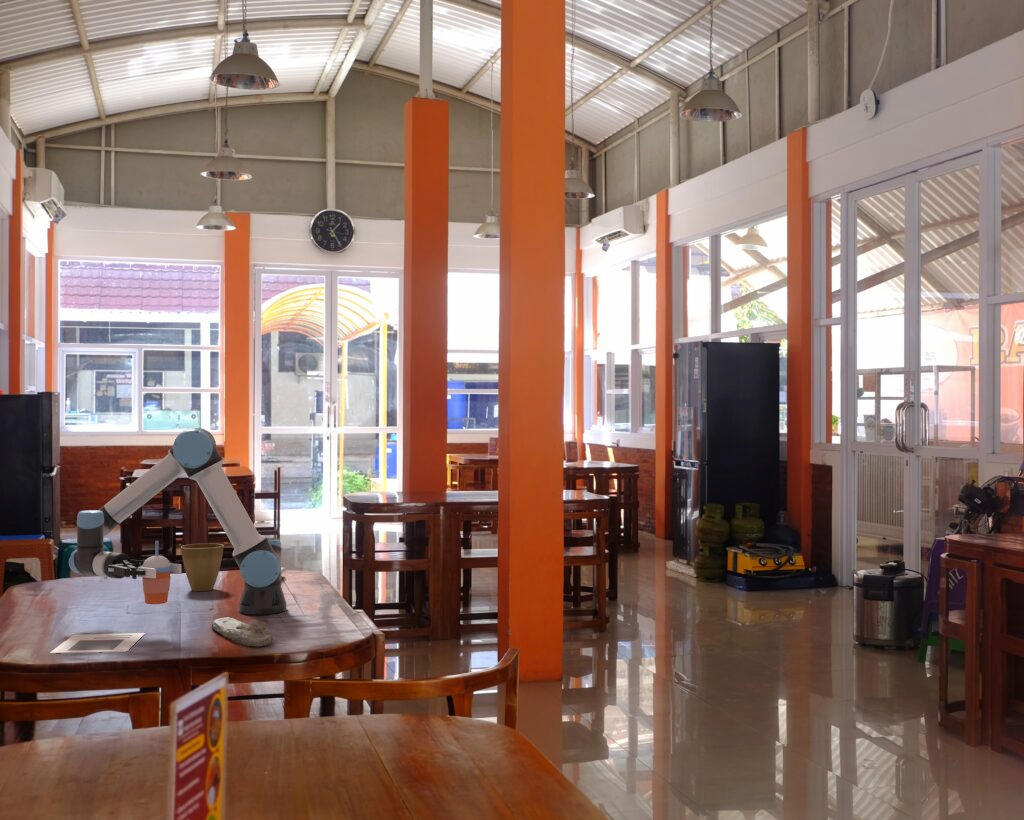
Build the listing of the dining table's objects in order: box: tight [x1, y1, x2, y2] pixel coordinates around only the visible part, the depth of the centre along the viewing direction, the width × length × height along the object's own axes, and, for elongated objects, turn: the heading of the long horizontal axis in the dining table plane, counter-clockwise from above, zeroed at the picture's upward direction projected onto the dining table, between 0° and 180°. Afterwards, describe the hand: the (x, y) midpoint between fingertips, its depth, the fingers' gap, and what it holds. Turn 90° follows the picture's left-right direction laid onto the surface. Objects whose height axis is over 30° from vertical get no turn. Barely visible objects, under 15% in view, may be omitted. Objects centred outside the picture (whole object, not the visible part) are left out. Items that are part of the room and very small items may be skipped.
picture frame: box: [49, 632, 146, 655], centre depth 292 cm, size 20×22×1 cm
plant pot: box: [180, 543, 225, 592], centre depth 377 cm, size 15×15×16 cm
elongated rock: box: [210, 616, 274, 648], centre depth 302 cm, size 35×5×10 cm
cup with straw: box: [140, 540, 173, 605], centre depth 305 cm, size 9×9×18 cm
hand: (167, 571), depth 302 cm, fingers closed on cup with straw, 9 cm apart
